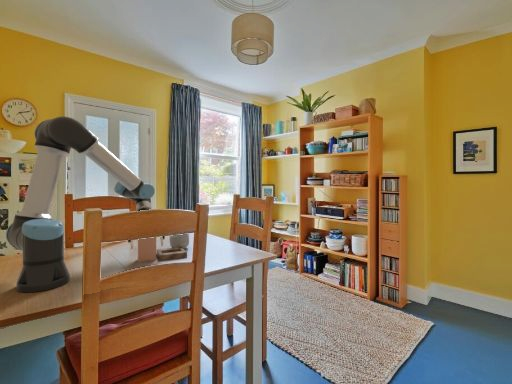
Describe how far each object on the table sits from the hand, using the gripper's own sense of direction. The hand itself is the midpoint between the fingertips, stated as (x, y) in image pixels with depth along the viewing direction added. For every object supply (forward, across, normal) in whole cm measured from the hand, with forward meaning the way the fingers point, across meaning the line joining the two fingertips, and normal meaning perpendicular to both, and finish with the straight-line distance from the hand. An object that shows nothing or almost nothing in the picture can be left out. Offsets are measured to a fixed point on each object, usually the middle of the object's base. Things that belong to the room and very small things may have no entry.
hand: (147, 246), depth 125 cm
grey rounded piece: (-8, -20, -18) cm, 28 cm away
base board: (+2, -12, -8) cm, 15 cm away
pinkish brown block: (+3, 0, -7) cm, 8 cm away
